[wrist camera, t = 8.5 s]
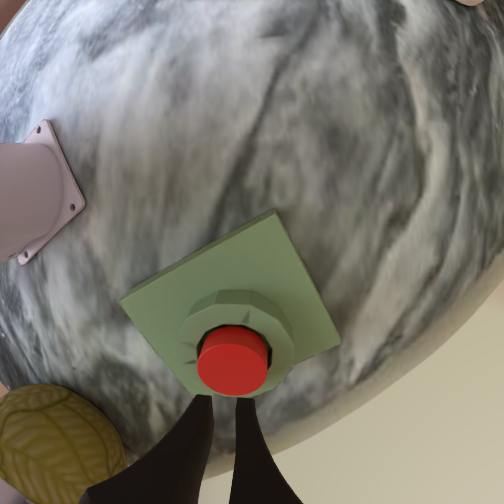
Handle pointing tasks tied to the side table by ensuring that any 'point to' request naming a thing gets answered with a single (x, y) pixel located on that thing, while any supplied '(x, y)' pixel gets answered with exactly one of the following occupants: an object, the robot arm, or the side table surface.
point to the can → (469, 2)
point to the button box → (234, 303)
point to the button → (233, 361)
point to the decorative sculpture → (55, 444)
